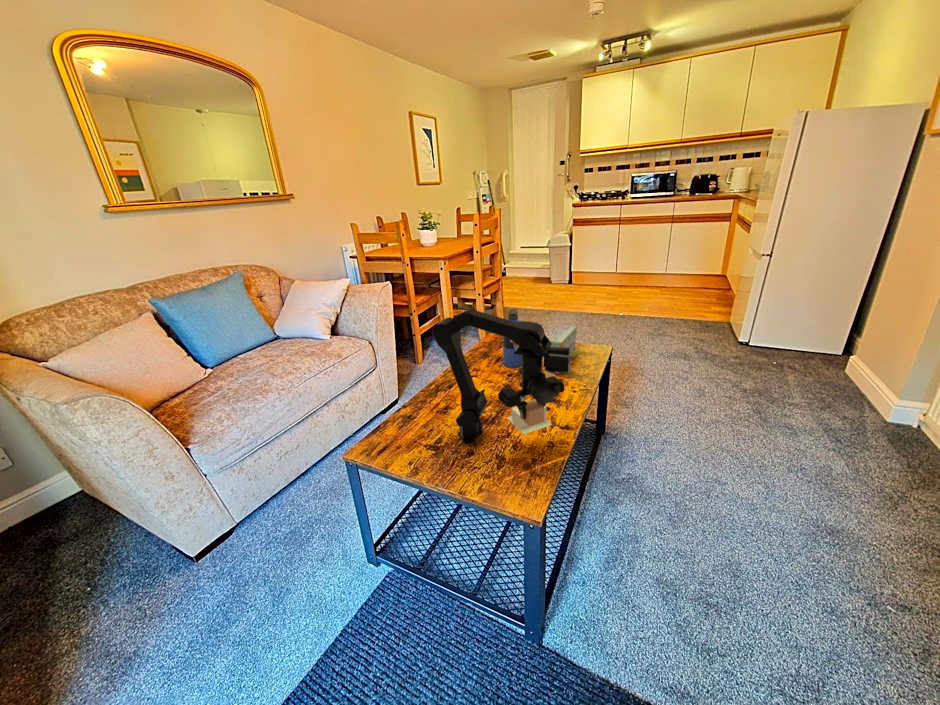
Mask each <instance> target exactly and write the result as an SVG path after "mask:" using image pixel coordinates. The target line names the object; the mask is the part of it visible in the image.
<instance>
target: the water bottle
mask: <svg viewBox="0 0 940 705" xmlns="http://www.w3.org/2000/svg"><path fill="white" fill-rule="evenodd" d="M507 320H510V321H515V322H521V321H522V320H519V314H518V311H517V310H516V309H515V308H511V309H510V310H509V311H508V314H507ZM502 343H503V345H502V355H503V366H504V367H506V368H508V369H519V368H522V355H517V354H514V351H515V350H516V348H517V347H519V345H517V344H515V343H514V342H513V341H512V340H511V339H509V338H507V337H504V336H503V342H502Z"/></svg>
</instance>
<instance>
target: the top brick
mask: <svg viewBox="0 0 940 705" xmlns="http://www.w3.org/2000/svg"><path fill="white" fill-rule="evenodd" d="M525 402H527V403H528V404H527V405H526V419H525V420H524V419H523V418H522V416H521V414H520V418H521V419H522V420H523V421H524V422H525V423H526V424H527V425H528V426H532V425H535V424H538V423H541V422H544V406H543V405H539V404H538V403H537V401H536V400H535V398H533V399H531V400H528V401H526V400H525Z"/></svg>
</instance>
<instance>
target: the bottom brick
mask: <svg viewBox="0 0 940 705" xmlns="http://www.w3.org/2000/svg"><path fill="white" fill-rule="evenodd" d="M511 416H512V422H513V423H514V424H515V425H516V426H517V427H518V428H519V429H522V428H525V427H528V425H527V424H526V423H525V422H524V421H523V420H522V419H521V418H520V412H519V410H518V408H517V406H514V407H511ZM546 419H547V407H546V406H545V407H544V421H546Z"/></svg>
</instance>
